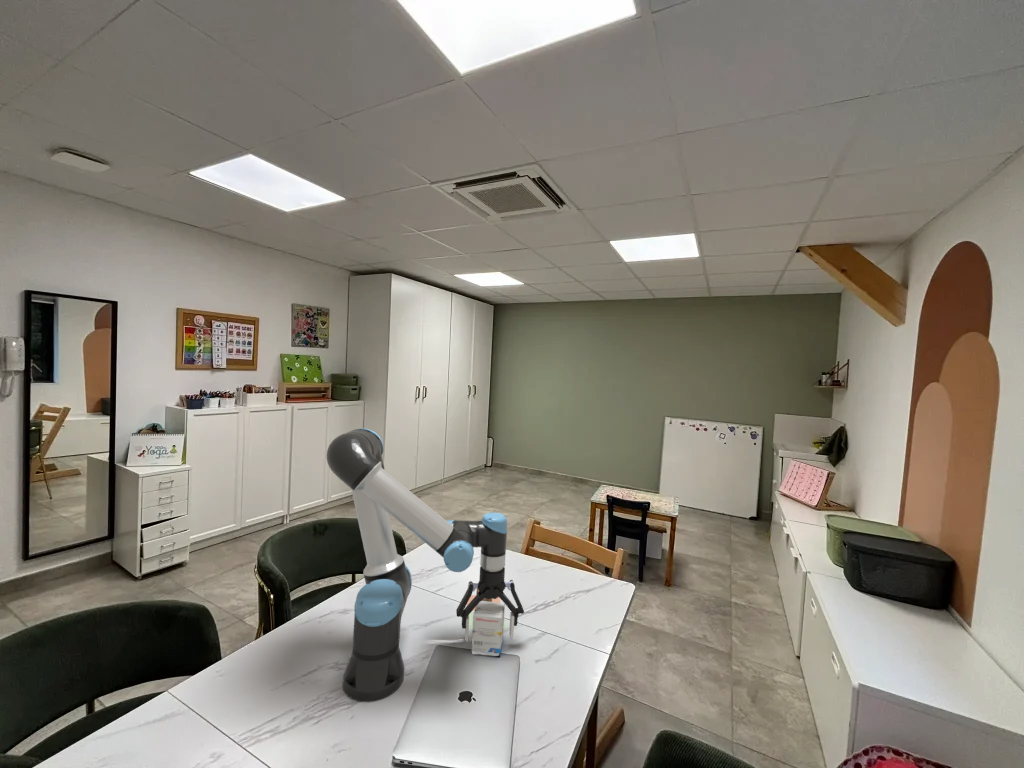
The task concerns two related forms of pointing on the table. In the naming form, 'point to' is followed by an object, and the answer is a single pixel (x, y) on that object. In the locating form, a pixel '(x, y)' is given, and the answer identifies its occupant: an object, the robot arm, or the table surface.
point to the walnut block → (484, 598)
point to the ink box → (488, 627)
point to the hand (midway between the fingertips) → (489, 637)
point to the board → (474, 610)
